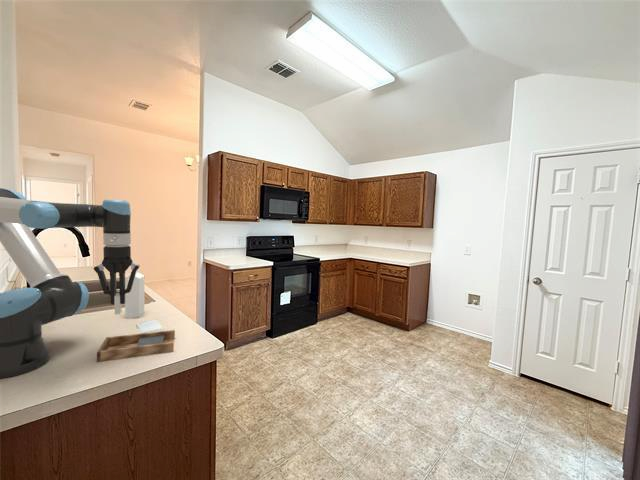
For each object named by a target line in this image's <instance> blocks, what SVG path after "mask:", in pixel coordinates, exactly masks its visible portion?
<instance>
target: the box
mask: <svg viewBox="0 0 640 480" xmlns="http://www.w3.org/2000/svg"><path fill="white" fill-rule="evenodd" d="M175 332H176V331H175V329H171V330H163V331H162V330H158V331H152V332H148V333H141V332H140V333H134V334H133V333H131V334H124V335H118V336H117V335H116V336H108V337H106V338H105V339H104V341H103V342H102V344H101V345H100V347H99V349H98V350H97V352H96V363H102V362H108V361H115V360H121V359H129V358H137V357H143V356H144V357H145V356H151V355H152V356H153V355H159V354H165V353H172V352H174V347H175V338H176V336H175V335H176V333H175ZM160 335H164V343H159V344H151V345H143V346H137V344H138V341H139V339H140V338H142V337H151V336H160Z"/></svg>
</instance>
